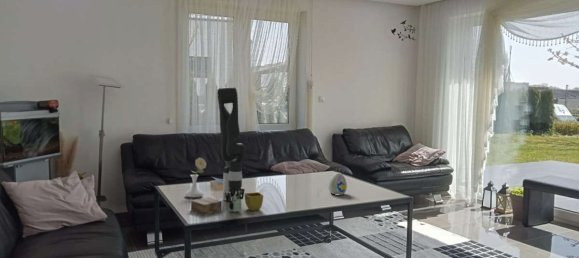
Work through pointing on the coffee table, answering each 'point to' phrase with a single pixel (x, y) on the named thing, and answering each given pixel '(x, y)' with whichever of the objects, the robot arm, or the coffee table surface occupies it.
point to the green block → (236, 205)
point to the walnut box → (206, 206)
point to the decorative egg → (337, 184)
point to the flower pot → (253, 200)
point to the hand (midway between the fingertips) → (234, 208)
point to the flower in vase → (194, 190)
